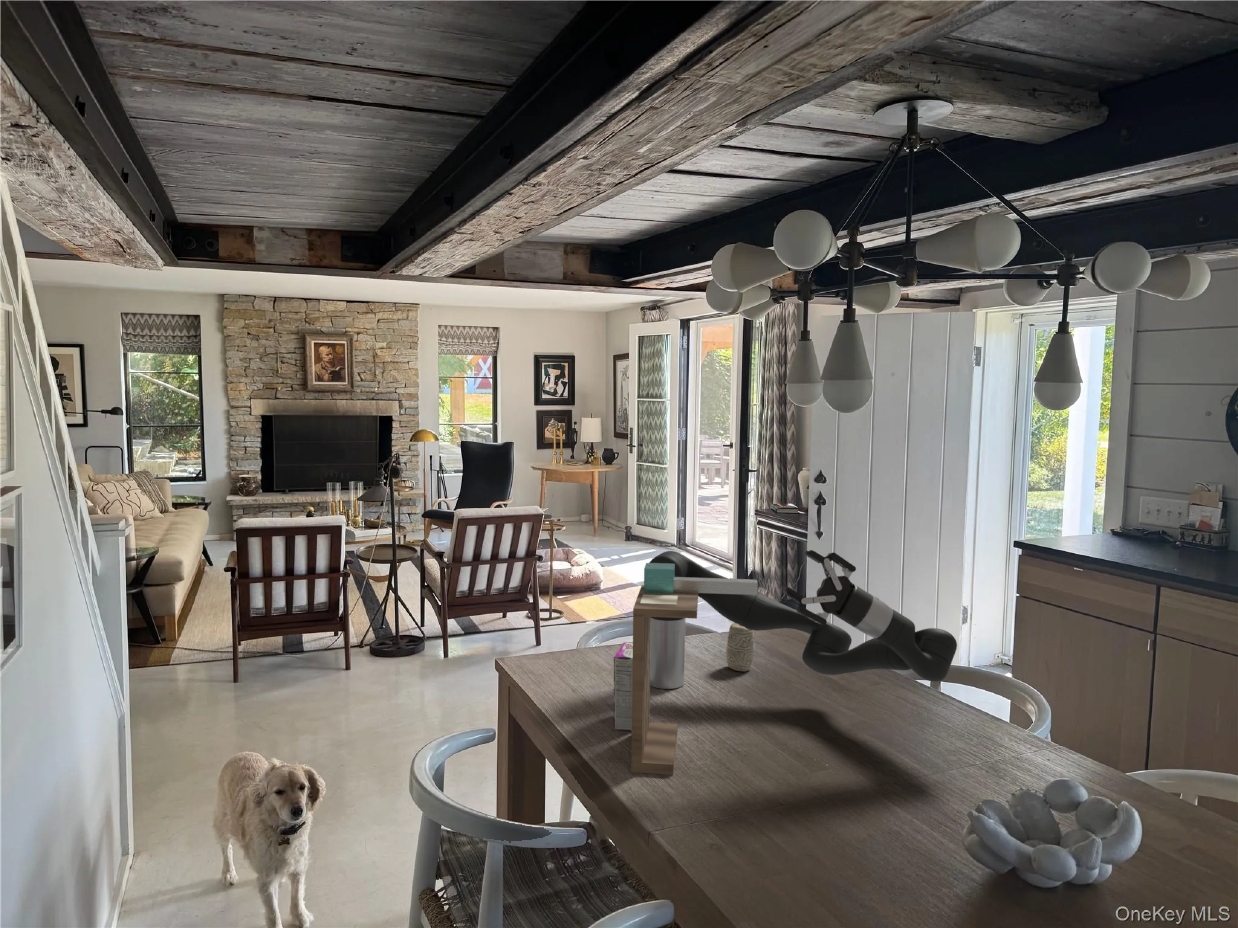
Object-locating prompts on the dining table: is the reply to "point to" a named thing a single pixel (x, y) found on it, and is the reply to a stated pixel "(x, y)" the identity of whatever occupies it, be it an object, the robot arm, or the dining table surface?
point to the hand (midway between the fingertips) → (795, 569)
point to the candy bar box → (623, 687)
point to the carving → (740, 648)
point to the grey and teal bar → (692, 582)
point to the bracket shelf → (649, 739)
